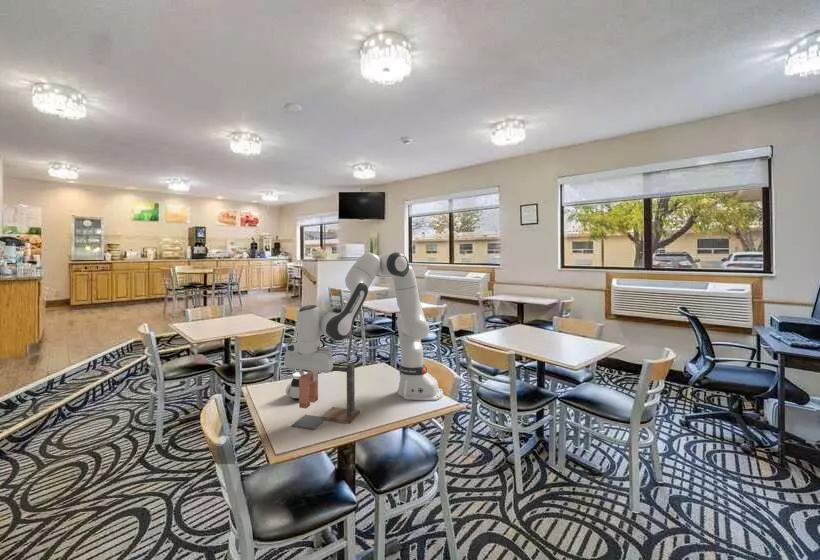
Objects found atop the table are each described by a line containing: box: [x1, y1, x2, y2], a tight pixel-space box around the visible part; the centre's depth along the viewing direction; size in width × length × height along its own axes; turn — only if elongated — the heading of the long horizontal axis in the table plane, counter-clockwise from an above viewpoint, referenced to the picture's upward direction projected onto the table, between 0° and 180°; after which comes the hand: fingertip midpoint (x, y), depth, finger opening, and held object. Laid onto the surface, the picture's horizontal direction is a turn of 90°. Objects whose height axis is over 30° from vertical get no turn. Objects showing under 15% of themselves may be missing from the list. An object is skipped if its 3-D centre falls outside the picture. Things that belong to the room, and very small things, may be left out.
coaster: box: [291, 414, 326, 431], centre depth 145 cm, size 10×10×1 cm
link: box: [298, 370, 319, 409], centre depth 144 cm, size 3×9×12 cm, turn 164°
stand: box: [320, 363, 361, 424], centre depth 151 cm, size 17×10×22 cm, turn 74°
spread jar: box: [285, 371, 308, 402], centre depth 171 cm, size 12×11×12 cm
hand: (308, 380), depth 144 cm, fingers closed on link, 3 cm apart
